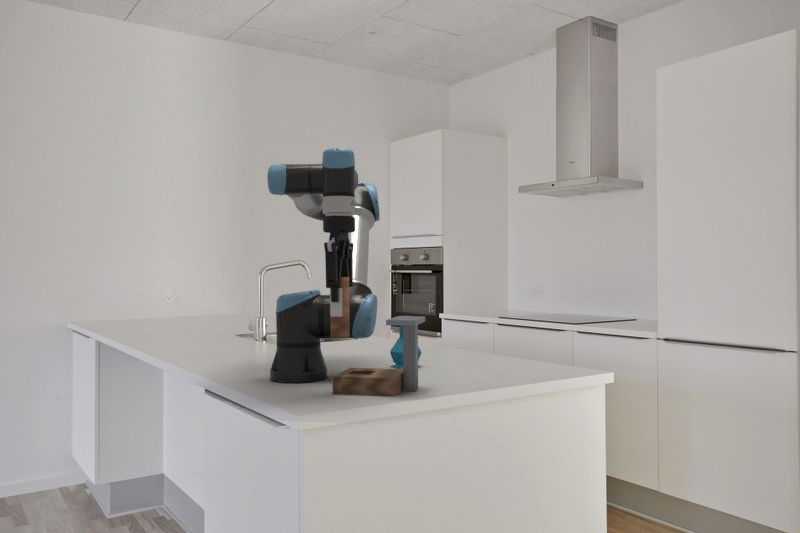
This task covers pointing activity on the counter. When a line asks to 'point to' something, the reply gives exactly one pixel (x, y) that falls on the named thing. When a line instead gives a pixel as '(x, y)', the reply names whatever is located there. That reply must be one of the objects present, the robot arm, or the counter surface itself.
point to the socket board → (369, 381)
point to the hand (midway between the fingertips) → (340, 315)
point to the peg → (342, 323)
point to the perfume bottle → (400, 351)
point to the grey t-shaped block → (409, 349)
